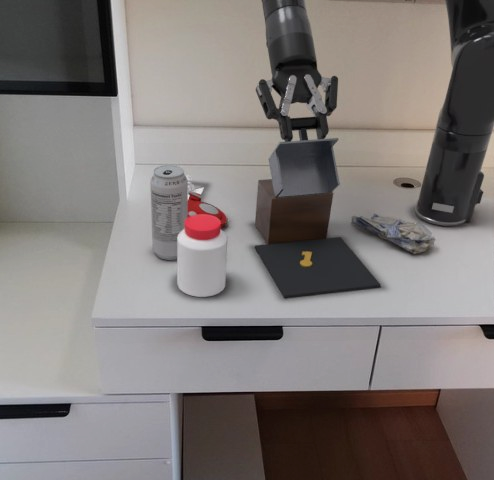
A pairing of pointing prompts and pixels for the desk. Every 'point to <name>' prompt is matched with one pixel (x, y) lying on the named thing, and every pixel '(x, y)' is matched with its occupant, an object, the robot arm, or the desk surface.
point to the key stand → (291, 215)
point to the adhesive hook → (192, 186)
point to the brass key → (306, 259)
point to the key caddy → (304, 163)
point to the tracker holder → (203, 208)
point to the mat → (315, 267)
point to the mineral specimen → (398, 232)
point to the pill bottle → (201, 256)
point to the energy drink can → (168, 209)
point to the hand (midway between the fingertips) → (305, 139)
